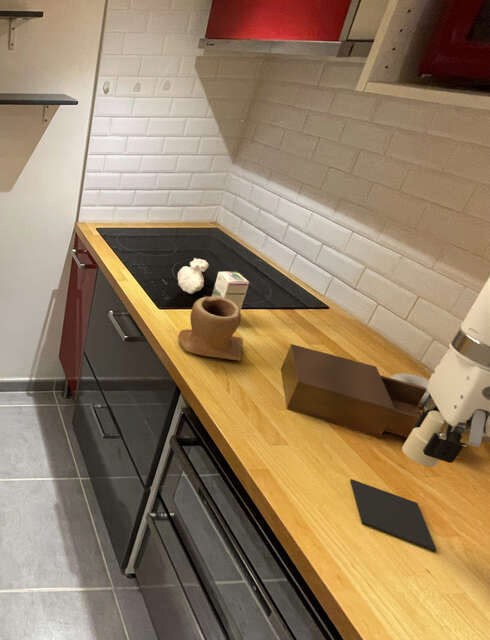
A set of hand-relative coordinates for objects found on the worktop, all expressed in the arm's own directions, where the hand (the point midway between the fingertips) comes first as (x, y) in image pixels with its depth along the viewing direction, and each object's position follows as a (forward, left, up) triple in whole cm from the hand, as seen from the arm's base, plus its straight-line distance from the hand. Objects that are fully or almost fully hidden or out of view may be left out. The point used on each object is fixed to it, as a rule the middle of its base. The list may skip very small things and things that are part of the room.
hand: (431, 445), depth 69 cm
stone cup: (+28, -33, -16) cm, 46 cm away
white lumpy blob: (+35, -66, -16) cm, 76 cm away
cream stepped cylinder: (+1, 0, -3) cm, 3 cm away
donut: (-13, -39, -16) cm, 44 cm away
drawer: (-9, -27, -15) cm, 32 cm away
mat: (0, 0, -16) cm, 16 cm away
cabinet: (+5, -27, -16) cm, 31 cm away
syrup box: (+26, -50, -16) cm, 58 cm away
